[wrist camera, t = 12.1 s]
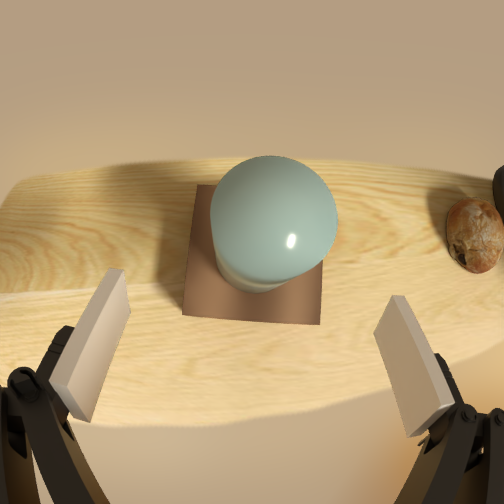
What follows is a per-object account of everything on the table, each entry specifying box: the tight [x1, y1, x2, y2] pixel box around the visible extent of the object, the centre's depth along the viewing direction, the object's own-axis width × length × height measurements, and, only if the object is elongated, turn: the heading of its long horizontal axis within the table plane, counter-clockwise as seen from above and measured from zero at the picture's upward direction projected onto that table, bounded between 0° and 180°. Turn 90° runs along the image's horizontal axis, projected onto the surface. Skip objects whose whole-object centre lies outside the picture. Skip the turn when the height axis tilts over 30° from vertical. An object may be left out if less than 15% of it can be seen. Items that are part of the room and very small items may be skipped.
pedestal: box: [182, 184, 323, 325], centre depth 29 cm, size 12×12×4 cm
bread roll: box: [447, 197, 504, 274], centre depth 32 cm, size 10×10×8 cm
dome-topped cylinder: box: [210, 156, 338, 294], centre depth 22 cm, size 7×7×11 cm
